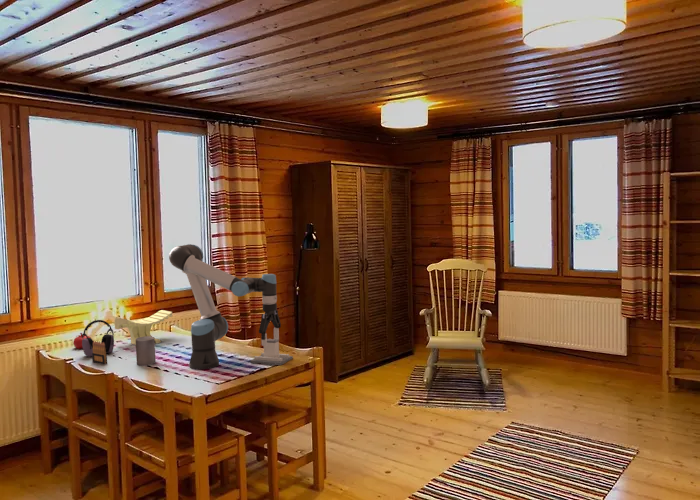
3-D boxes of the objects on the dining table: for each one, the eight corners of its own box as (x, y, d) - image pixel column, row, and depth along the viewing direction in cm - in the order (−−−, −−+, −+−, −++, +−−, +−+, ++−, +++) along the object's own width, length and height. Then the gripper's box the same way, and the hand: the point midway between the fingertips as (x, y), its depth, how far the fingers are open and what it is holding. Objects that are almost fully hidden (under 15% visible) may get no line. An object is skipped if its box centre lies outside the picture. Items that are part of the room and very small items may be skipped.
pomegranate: (93, 347, 352) (92, 332, 351) (75, 350, 346) (74, 335, 345) (90, 345, 360) (89, 330, 359) (72, 347, 354) (71, 332, 354)
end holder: (280, 365, 300) (280, 360, 300) (250, 362, 307) (250, 357, 306) (292, 358, 313) (292, 353, 313) (263, 356, 320) (263, 351, 320)
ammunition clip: (92, 362, 318) (91, 340, 317) (95, 361, 319) (94, 339, 318) (104, 364, 312) (103, 342, 311) (107, 363, 313) (106, 341, 312)
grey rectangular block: (275, 359, 307) (275, 341, 306) (264, 358, 309) (263, 340, 309) (279, 357, 311) (278, 339, 310) (267, 357, 313) (266, 338, 312)
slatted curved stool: (160, 336, 379) (159, 309, 377) (173, 339, 368) (172, 311, 367) (115, 345, 357) (114, 316, 356) (128, 349, 346) (126, 319, 345)
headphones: (116, 352, 337) (114, 318, 336) (87, 358, 325) (85, 323, 324) (109, 350, 344) (107, 317, 342) (80, 356, 332) (78, 321, 330)
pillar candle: (136, 362, 315) (134, 335, 313) (155, 359, 318) (153, 333, 317) (137, 366, 306) (135, 338, 304) (156, 364, 309) (155, 336, 308)
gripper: (264, 307, 295) (265, 348, 296) (286, 299, 318) (287, 338, 320) (251, 306, 297) (252, 347, 299) (274, 299, 321) (275, 337, 322)
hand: (270, 342), depth 309 cm, fingers open, 13 cm apart
